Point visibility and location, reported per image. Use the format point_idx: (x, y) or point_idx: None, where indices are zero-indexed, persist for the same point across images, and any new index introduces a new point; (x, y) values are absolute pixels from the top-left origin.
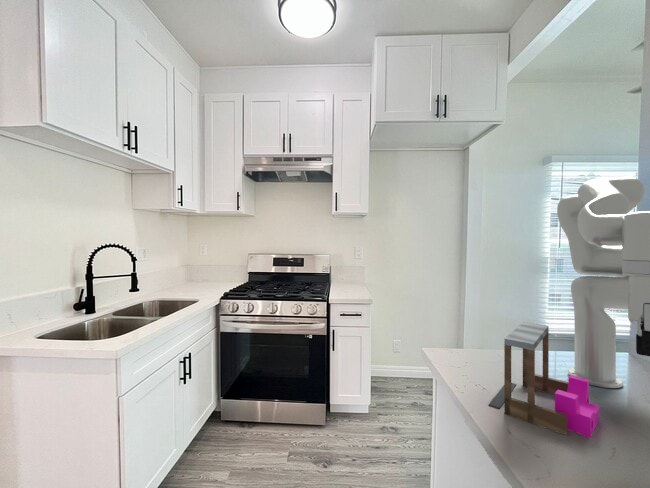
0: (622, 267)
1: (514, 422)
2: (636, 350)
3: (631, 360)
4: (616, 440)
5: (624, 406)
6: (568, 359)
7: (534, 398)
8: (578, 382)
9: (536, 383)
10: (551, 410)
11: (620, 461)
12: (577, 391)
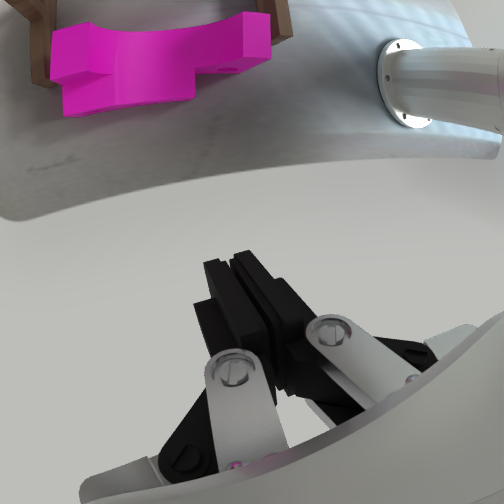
0: None
1: None
2: (209, 268)
3: (490, 145)
4: (111, 151)
5: (316, 130)
6: None
7: (35, 11)
8: (239, 37)
9: None
10: (39, 49)
11: (36, 183)
12: (218, 43)
